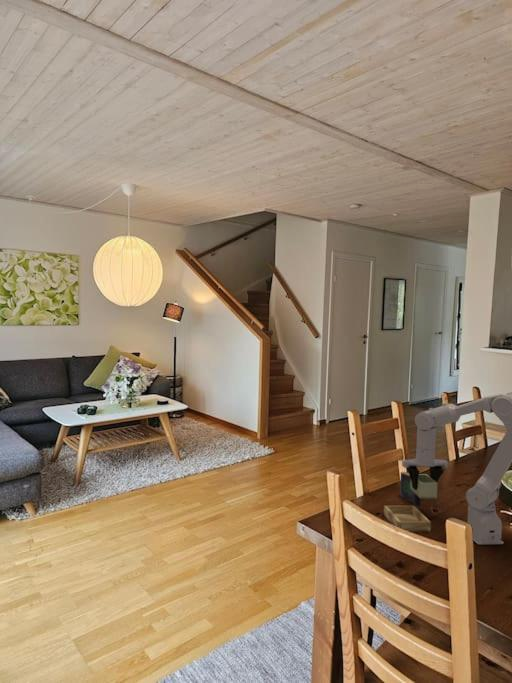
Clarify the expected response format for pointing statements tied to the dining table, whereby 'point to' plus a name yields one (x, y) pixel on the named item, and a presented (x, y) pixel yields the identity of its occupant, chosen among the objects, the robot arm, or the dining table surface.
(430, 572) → the dining table surface
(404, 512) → the beige flat rectangular tray
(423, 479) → the small crate
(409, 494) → the dark blue box
